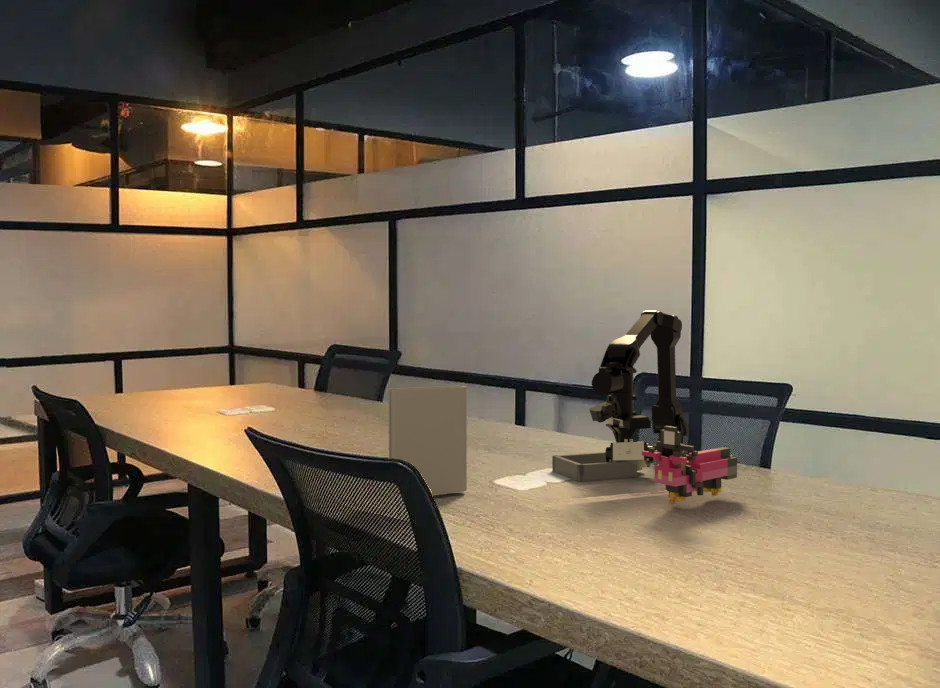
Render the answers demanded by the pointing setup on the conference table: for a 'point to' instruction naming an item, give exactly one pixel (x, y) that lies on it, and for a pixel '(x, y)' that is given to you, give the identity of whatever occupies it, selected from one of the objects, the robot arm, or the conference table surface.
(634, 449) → the pneumatic valve
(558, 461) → the housing bay
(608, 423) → the robot arm
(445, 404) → the book
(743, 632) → the conference table surface
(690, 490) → the figurine
